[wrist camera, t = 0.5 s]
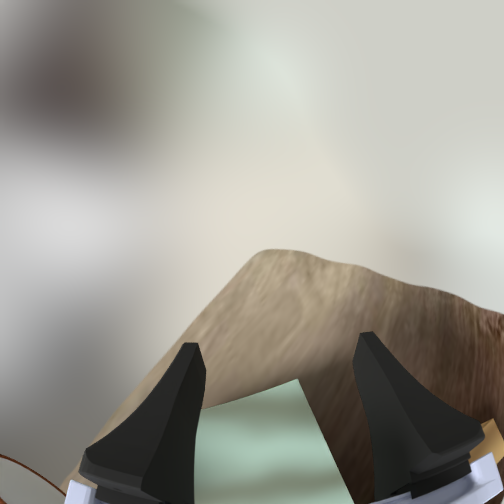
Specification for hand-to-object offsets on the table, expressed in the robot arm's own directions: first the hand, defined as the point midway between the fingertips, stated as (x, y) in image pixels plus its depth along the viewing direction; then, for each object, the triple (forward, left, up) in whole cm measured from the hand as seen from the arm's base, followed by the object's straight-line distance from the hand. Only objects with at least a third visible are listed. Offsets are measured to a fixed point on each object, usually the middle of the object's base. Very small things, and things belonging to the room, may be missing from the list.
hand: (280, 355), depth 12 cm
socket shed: (-7, +5, -19) cm, 20 cm away
